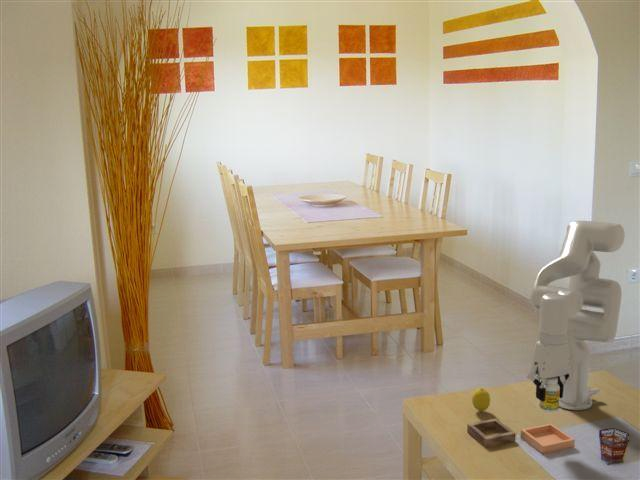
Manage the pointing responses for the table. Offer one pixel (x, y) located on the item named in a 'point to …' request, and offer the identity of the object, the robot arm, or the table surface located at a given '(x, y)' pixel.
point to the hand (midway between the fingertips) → (549, 397)
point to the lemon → (481, 399)
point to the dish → (547, 438)
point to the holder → (504, 437)
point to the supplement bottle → (551, 395)
